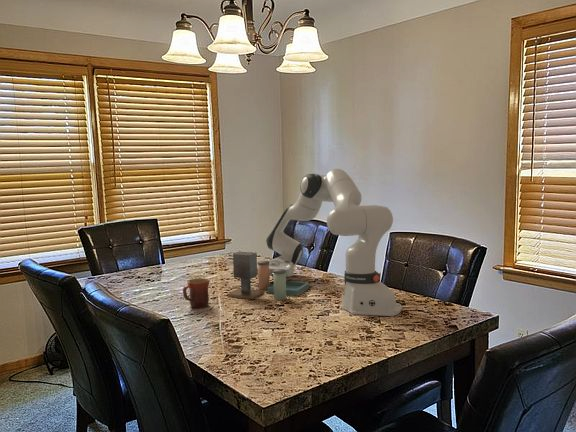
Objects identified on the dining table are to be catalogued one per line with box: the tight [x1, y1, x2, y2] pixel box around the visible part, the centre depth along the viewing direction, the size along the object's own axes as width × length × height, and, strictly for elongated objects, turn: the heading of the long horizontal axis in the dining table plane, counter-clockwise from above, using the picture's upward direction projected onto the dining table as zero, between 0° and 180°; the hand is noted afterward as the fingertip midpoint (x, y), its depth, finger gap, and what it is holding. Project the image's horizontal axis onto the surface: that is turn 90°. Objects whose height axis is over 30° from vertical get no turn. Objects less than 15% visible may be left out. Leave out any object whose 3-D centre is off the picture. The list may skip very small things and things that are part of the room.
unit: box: [227, 251, 265, 301], centre depth 203 cm, size 12×10×18 cm
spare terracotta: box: [257, 260, 271, 290], centre depth 215 cm, size 5×5×12 cm
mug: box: [182, 277, 211, 309], centre depth 188 cm, size 12×9×10 cm
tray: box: [266, 280, 310, 297], centre depth 210 cm, size 14×14×2 cm
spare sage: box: [273, 269, 287, 301], centre depth 197 cm, size 5×5×12 cm
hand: (263, 274), depth 214 cm, fingers open, 8 cm apart
